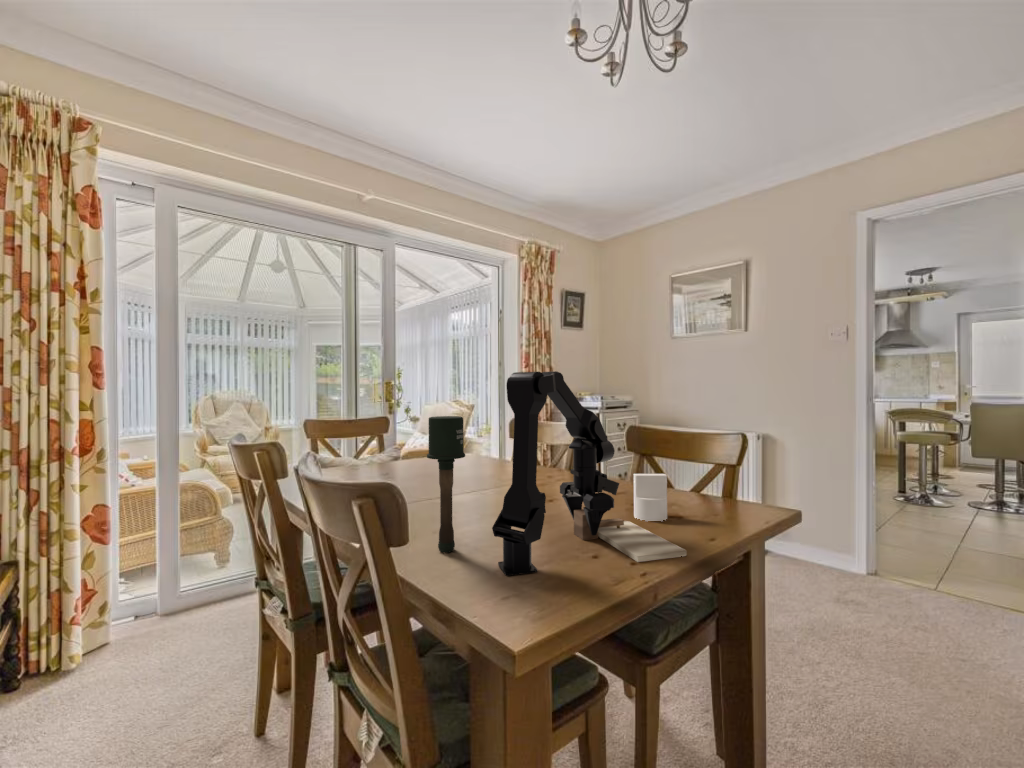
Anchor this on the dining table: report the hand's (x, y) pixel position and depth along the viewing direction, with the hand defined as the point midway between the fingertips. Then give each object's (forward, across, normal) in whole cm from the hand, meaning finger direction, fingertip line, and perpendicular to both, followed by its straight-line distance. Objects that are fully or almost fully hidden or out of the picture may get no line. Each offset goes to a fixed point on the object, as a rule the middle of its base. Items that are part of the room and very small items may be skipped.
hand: (585, 529), depth 115 cm
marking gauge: (+2, 0, -4) cm, 4 cm away
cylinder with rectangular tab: (+2, +10, -25) cm, 27 cm away
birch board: (+2, -7, -9) cm, 11 cm away
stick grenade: (+2, 0, +34) cm, 34 cm away
